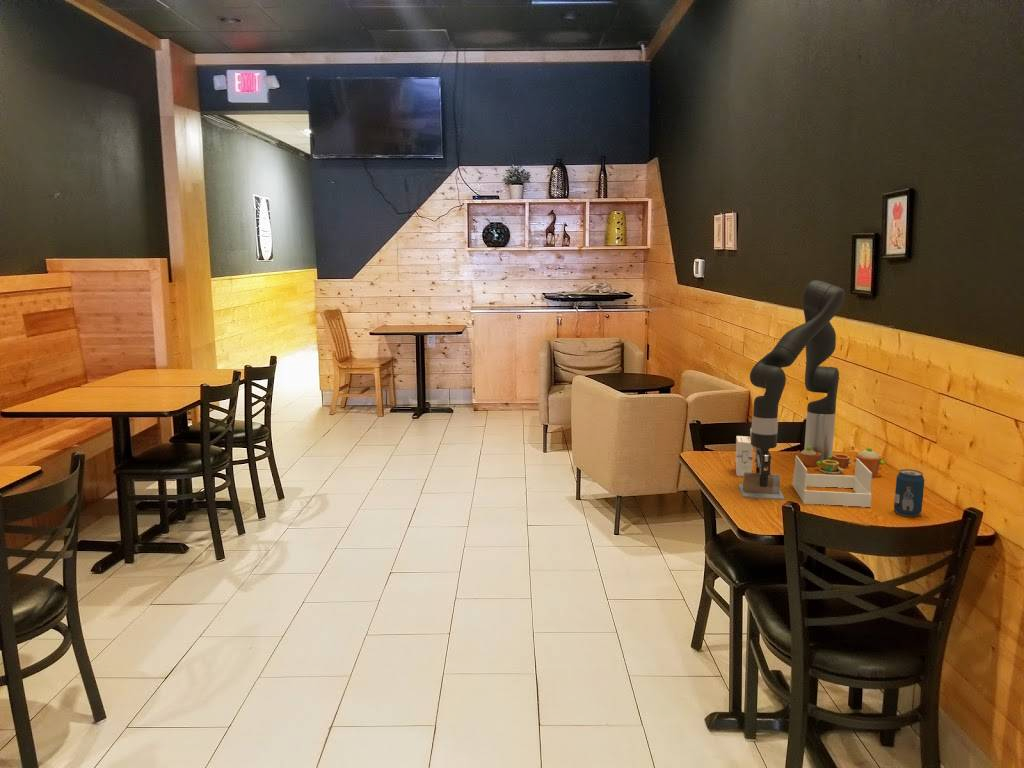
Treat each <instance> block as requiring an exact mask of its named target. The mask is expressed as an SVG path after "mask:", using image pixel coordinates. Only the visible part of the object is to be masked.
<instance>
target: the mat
mask: <svg viewBox="0 0 1024 768" xmlns="http://www.w3.org/2000/svg"><path fill="white" fill-rule="evenodd" d="M737 486H738V489H739V491H740V495H741V496H742V498H751V499H752V498H753V499H768V500H785V499H786V498H785V496H784V494H783V492H782V490H781V489H780V491H779V494H766V493H748V492H745V491H744V489H743V483H738V485H737Z"/></svg>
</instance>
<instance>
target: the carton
mask: <svg viewBox="0 0 1024 768" xmlns="http://www.w3.org/2000/svg"><path fill="white" fill-rule="evenodd" d="M855 458H856V457H855ZM794 461H795V462H794V472H793V476H792V486H793V488H794V489H795V492H796V493H797V495H798V496H799V498H800V500H801V501H802V503H803V504H804V505H814V504H817V505H816V506H819V505H818V504H821V505H820V506H830V505H843V506H842V507H848V506H861V507H860V508H865V507H870V508H869V509H871V508H872V495H873V494H872V493H871V491H872V480H873V477H872V472H871V471H870V470H869V469H868V468H867V467H866V466H865V465H864V464H863V463H862V462H861V461H860V460H859V459H858V458H856V462H855V467H854V475H843V474H842V475H841V474H825V473H823V474H821V473H820V474H819V473H808V469H807V468H806V465H804V462H802V460H801V459H800V457H798V455H796V454H795V460H794ZM808 487H811V488H825V487H838V488H837V489H844V488H853V489H852V490H853V491H854V492H844V491H827V490H826V491H824V490H809V489H807V488H808ZM842 487H843V488H842ZM822 504H824V505H822ZM826 504H828V505H826Z"/></svg>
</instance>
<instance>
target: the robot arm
mask: <svg viewBox="0 0 1024 768" xmlns="http://www.w3.org/2000/svg"><path fill="white" fill-rule="evenodd" d="M845 300H846V292H845V290H844V289H843V288H841V287H839V286H837V285H834V284H831V283H828V282H826V281H823V280H815V279H814V280H811V281H810V282H808V284H807V285H806V286H805V289H804V291H803V294H802V309H803V310H802V311H803V315H804V322H805V323H802V324H800V325H797V326H796V327H793V328H792V329H790V330H788V331H787V332H786V333H784V334H783V335H782V337H781V338H780V339H779V340H778V342H777V343H776V345H774V348H773V349H772V350H770V352H769V353H766V355H765V356H764V357H762V358H761V359H760V360H759V361H757V362H756V363H755V364H754V365H753V367H752V369H751V370H750V374H749V381H750V382H751V384H752V385H753V386H754V387H756V388H761V389H765V391H764V394H763V395H759V396H755V398H754V400H753V414H752V420H751V432H750V437H751V445H752V446H753V448H755V452H754V454H755V457H754V465H755V473H760V484H759V485H760V487H767V485H768V475H770V474H771V459H772V455H771V453H770V449H775V448H776V447H777V445H778V433H779V432H778V431H779V430H778V429H779V421H778V417H779V403H780V400H781V398H782V395H783V392H784V390H785V386H786V382H787V381H786V380H787V378H786V373H785V371H784V370H783V368H788V367H790V366H792V364H793V363H795V361H796V360H797V359H798V357H799V355H800V354H801V353H802V351H803V350H804V348H805V358H806V359H805V369H804V370H805V372H804V386H805V389H806V391H808V392H811V393H819V394H827V395H826V396H825V397H822V398H820V399H817V400H813V401H810V402H808V403H807V406H806V407H807V409H806V422H805V436H804V449H803V450H806V449H807V446H810V447H811V450H813V451H815V452H819V453H820V454H821V456H820V460H819V461H821V462H822V461H823V460H829V459H828V458H829V456H832V455H833V451H834V450H833V449H834V437H835V425H836V424H835V423H836V411H837V409H836V408H837V396H838V395H837V394H838V388H839V380H840V372H839V369H838V368H837V367H834V366H824V365H823V366H821V365H822V364H823V363H824V362H825V361H827V360H828V359H829V358H830V357H832V355H833V353H834V352H835V349H836V347H837V346H836V343H837V341H836V340H837V334H836V331H835V328H834V327H833V326H834V325H832V323H831V322H830V321H831V320H832V319H833V318H834V317H835V316H836V315H837V314H838V313H839V312H840V310H841V308H842V307H843V304H844V303H845ZM765 469H766V470H765Z"/></svg>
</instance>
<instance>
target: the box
mask: <svg viewBox="0 0 1024 768" xmlns="http://www.w3.org/2000/svg"><path fill="white" fill-rule="evenodd" d="M742 484H743V489H744V491H745V492H748V493H766V494H779V491H780V490H781V485H780V484H781V477H780V474H778V473H770V475H768V485H767V487H760V485H759V484H760V473H756V472H752V473H750V472H744V476H743V482H742Z"/></svg>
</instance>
